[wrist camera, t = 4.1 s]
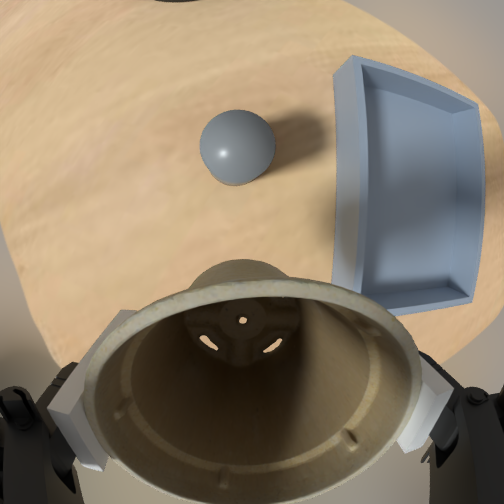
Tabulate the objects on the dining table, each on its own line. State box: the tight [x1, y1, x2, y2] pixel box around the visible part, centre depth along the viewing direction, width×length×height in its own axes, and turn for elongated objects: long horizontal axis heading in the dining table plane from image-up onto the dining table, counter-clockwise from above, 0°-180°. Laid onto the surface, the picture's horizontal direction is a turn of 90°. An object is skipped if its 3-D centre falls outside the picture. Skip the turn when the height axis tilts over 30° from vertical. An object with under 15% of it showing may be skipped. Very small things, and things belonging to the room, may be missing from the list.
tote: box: [331, 55, 485, 316], centre depth 23 cm, size 24×18×5 cm
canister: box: [200, 110, 276, 186], centre depth 21 cm, size 5×5×7 cm
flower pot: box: [83, 259, 422, 504], centre depth 10 cm, size 9×9×9 cm
